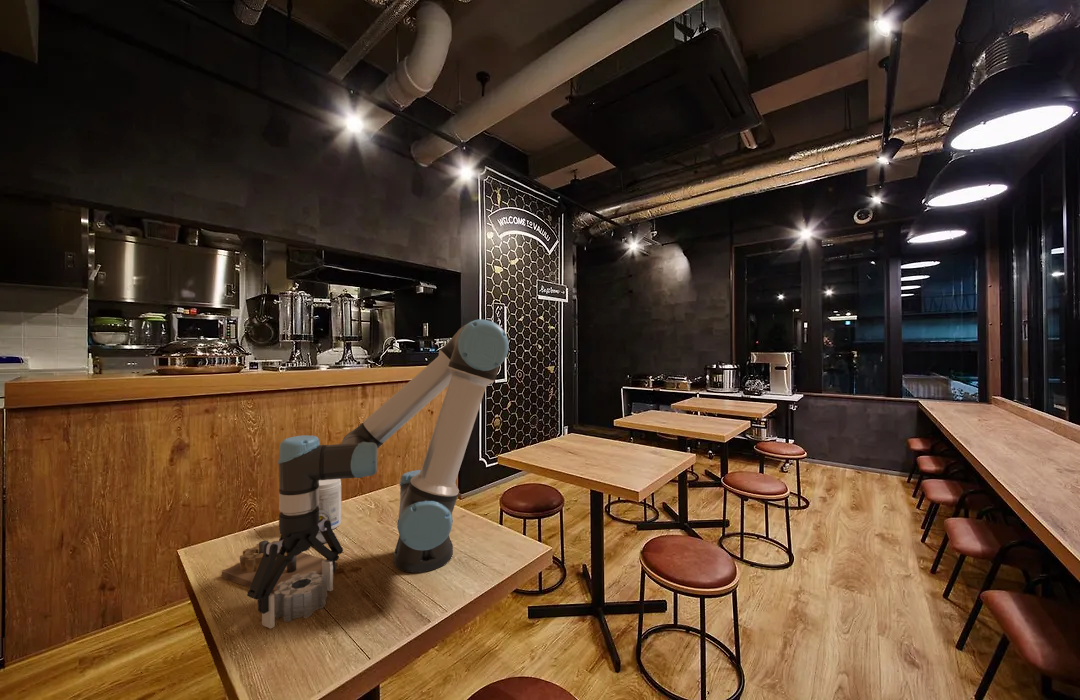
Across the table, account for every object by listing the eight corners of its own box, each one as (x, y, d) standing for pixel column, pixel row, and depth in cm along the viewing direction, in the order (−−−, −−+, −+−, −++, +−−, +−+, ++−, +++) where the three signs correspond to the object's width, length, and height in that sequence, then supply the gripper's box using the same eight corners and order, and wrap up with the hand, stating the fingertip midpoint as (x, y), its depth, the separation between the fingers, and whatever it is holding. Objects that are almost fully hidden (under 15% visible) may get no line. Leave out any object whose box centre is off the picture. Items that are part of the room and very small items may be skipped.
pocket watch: (324, 546, 117) (323, 511, 116) (298, 543, 118) (297, 508, 118) (343, 533, 125) (343, 500, 124) (319, 531, 126) (318, 498, 126)
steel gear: (336, 599, 92) (336, 577, 92) (295, 626, 84) (295, 601, 83) (306, 589, 96) (306, 567, 96) (264, 614, 87) (264, 590, 87)
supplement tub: (314, 521, 133) (313, 475, 133) (345, 518, 135) (345, 474, 135) (302, 534, 124) (301, 485, 124) (336, 532, 125) (335, 484, 125)
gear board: (338, 568, 105) (337, 543, 105) (284, 600, 92) (284, 571, 92) (277, 551, 114) (277, 527, 114) (221, 577, 101) (221, 551, 101)
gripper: (336, 488, 102) (336, 573, 103) (225, 529, 79) (226, 638, 80) (358, 492, 99) (359, 580, 100) (250, 536, 76) (250, 650, 77)
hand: (299, 606), depth 90 cm, fingers open, 13 cm apart
